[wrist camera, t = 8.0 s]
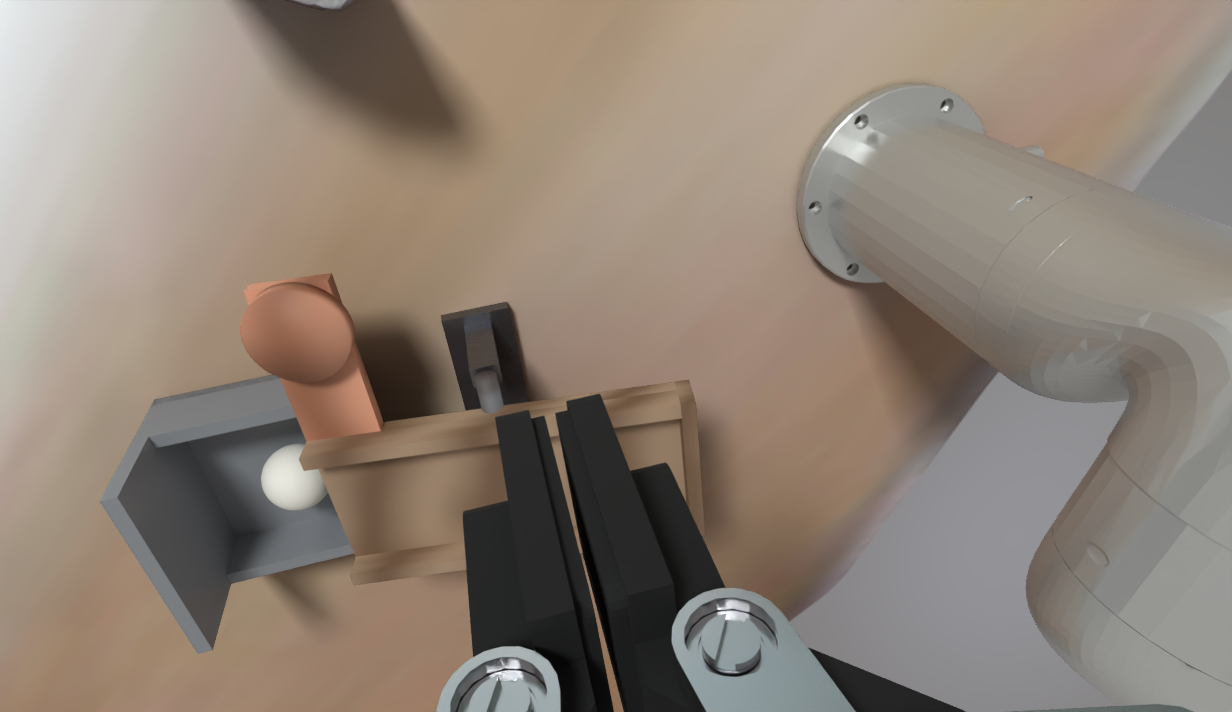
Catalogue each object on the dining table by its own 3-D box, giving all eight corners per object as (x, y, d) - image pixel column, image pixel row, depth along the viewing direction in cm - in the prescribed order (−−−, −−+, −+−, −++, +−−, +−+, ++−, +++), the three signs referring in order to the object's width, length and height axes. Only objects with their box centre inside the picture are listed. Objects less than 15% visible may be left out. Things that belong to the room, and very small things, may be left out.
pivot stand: (506, 301, 45) (518, 349, 40) (546, 484, 53) (559, 543, 48) (441, 315, 45) (444, 365, 40) (490, 497, 53) (498, 559, 48)
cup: (356, 357, 45) (344, 446, 38) (406, 499, 51) (404, 600, 44) (154, 399, 44) (99, 501, 36) (231, 541, 50) (197, 653, 42)
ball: (301, 422, 47) (333, 445, 44) (321, 471, 49) (353, 496, 46) (239, 456, 44) (269, 483, 42) (263, 506, 46) (293, 534, 44)
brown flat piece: (675, 217, 36) (684, 240, 34) (698, 525, 47) (707, 559, 45) (241, 277, 36) (219, 304, 34) (365, 572, 47) (355, 609, 45)
